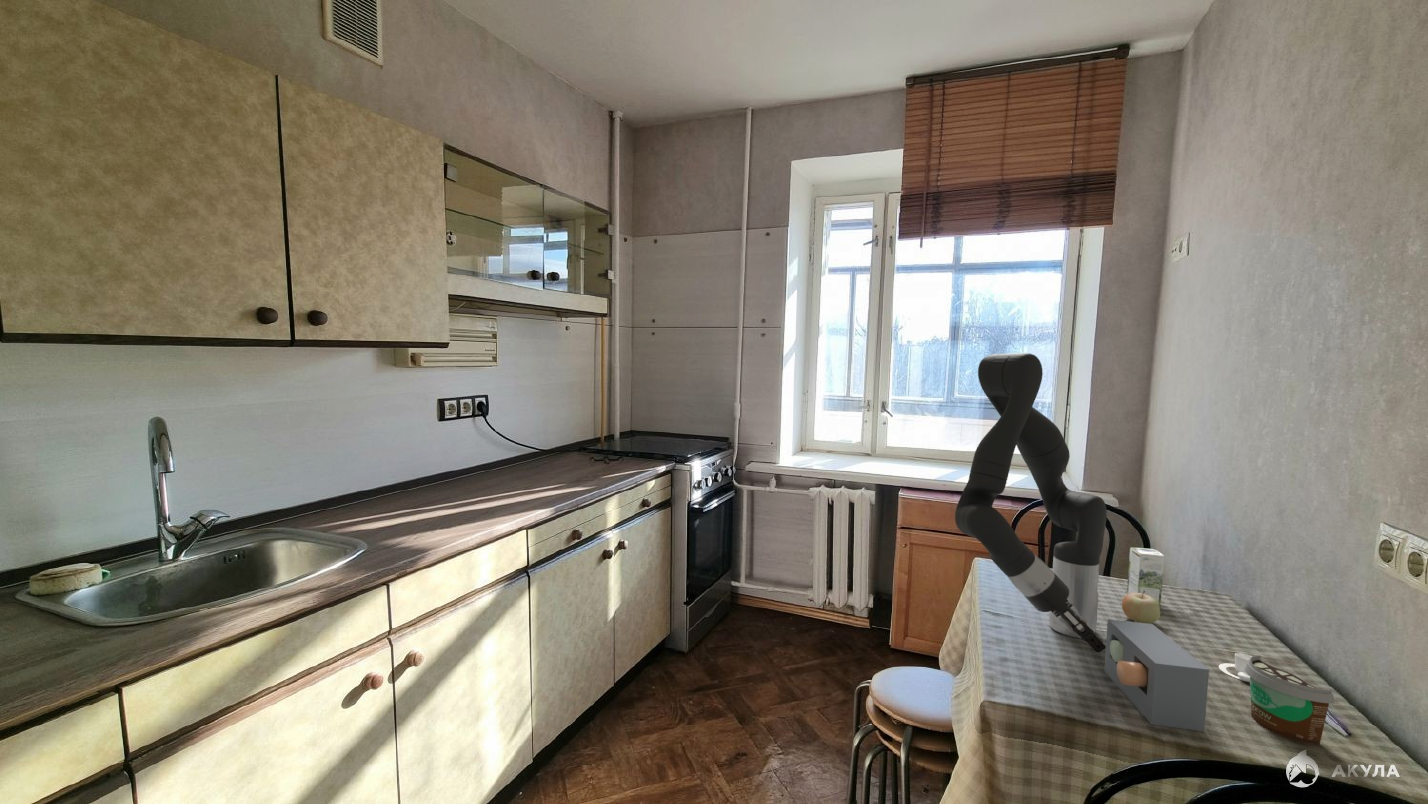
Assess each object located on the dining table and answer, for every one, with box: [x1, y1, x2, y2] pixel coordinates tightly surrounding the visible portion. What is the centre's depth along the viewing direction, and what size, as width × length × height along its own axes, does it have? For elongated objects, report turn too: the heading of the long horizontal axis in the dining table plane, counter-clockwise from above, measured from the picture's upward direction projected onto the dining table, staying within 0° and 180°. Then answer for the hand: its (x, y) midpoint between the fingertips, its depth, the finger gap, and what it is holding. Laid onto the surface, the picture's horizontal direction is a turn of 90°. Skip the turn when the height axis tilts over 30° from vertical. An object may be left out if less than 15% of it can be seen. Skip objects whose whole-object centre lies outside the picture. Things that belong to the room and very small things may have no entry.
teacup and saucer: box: [1218, 652, 1253, 683], centre depth 116 cm, size 9×8×4 cm
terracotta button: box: [1117, 661, 1149, 687], centre depth 103 cm, size 4×4×4 cm
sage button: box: [1110, 640, 1124, 662], centre depth 111 cm, size 4×4×4 cm
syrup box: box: [1126, 546, 1165, 608], centre depth 152 cm, size 6×6×14 cm
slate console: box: [1103, 618, 1210, 732], centre depth 106 cm, size 8×18×11 cm, turn 167°
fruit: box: [1121, 590, 1161, 624], centre depth 141 cm, size 8×7×8 cm
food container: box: [1245, 654, 1335, 745], centre depth 99 cm, size 12×6×10 cm, turn 5°
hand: (1100, 648), depth 112 cm, fingers closed
